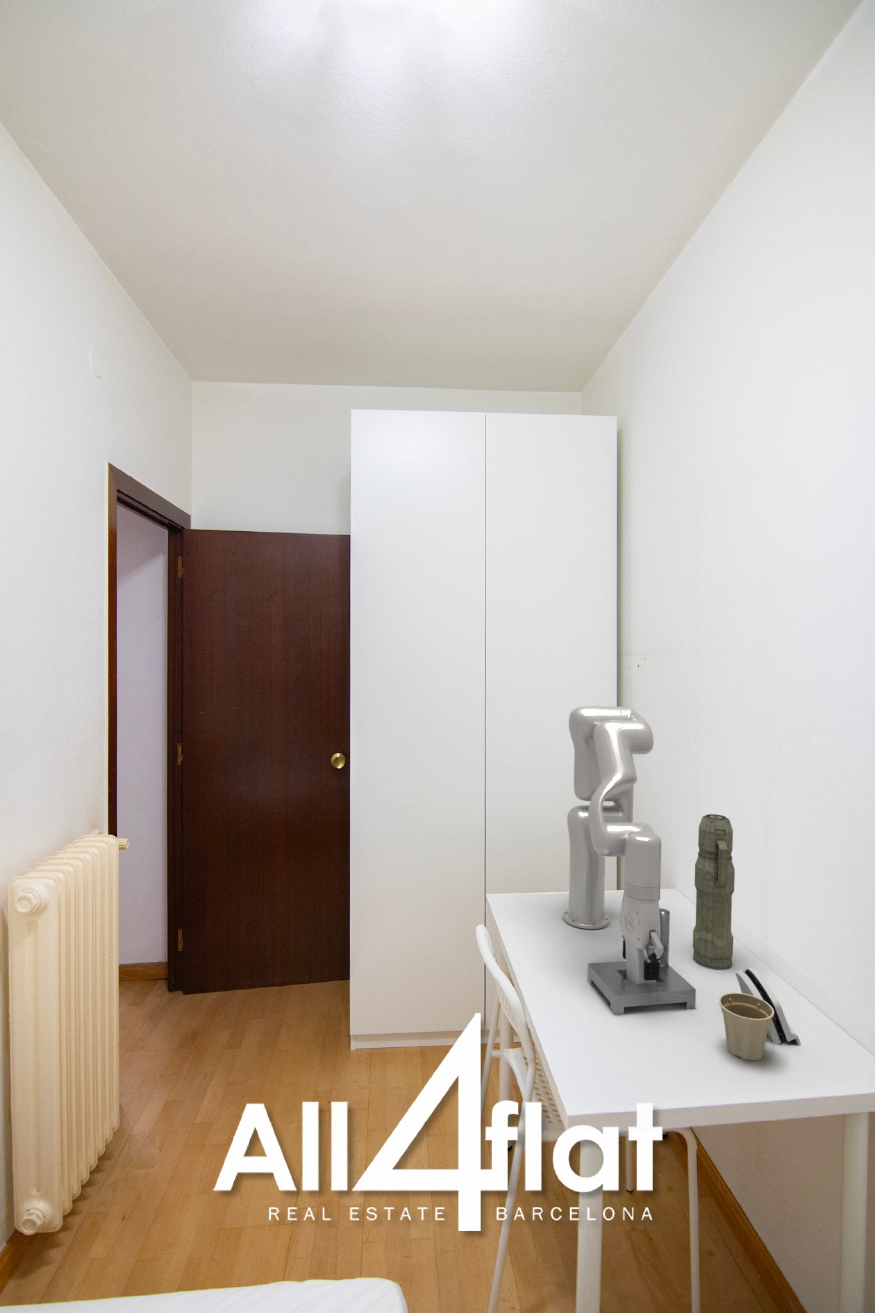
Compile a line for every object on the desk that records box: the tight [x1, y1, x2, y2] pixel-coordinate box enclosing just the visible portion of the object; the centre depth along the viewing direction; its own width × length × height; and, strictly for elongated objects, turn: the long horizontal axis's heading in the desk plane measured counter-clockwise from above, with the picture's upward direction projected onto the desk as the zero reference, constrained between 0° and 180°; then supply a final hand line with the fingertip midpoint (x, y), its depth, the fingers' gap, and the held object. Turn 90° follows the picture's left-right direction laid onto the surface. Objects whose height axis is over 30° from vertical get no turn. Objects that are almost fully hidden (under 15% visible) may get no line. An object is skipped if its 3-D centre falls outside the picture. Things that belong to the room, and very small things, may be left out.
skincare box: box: [625, 938, 656, 985], centre depth 145 cm, size 6×4×12 cm
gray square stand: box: [586, 907, 697, 1016], centre depth 145 cm, size 14×18×16 cm
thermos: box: [692, 813, 736, 971], centre depth 161 cm, size 9×12×35 cm
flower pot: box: [718, 992, 774, 1061], centre depth 125 cm, size 9×9×9 cm
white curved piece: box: [735, 967, 802, 1046], centre depth 135 cm, size 17×5×10 cm, turn 174°
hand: (640, 968), depth 145 cm, fingers open, 9 cm apart
